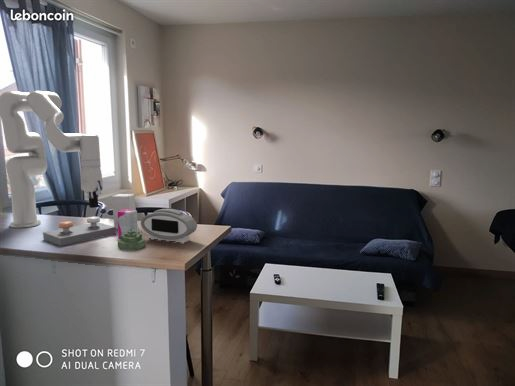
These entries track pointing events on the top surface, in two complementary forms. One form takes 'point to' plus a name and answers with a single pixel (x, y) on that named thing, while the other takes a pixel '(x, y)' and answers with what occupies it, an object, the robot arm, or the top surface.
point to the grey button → (93, 221)
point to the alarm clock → (169, 225)
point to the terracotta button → (66, 226)
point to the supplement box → (127, 221)
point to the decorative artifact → (131, 241)
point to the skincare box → (122, 205)
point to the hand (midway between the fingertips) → (93, 207)
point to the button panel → (78, 234)
